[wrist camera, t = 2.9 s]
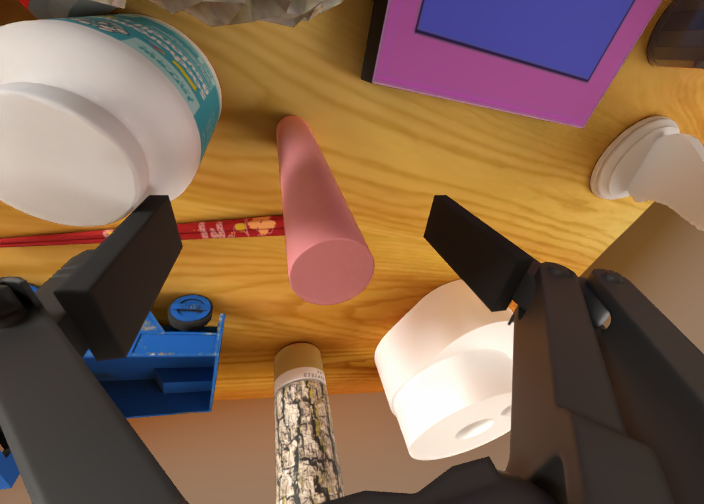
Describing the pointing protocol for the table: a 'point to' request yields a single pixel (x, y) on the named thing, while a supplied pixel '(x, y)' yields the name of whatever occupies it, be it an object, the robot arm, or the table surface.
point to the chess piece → (654, 168)
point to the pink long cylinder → (318, 222)
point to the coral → (243, 10)
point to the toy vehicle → (156, 369)
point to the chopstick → (186, 230)
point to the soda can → (65, 8)
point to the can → (679, 36)
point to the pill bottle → (100, 115)
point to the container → (449, 372)
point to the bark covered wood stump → (304, 429)
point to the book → (506, 51)
